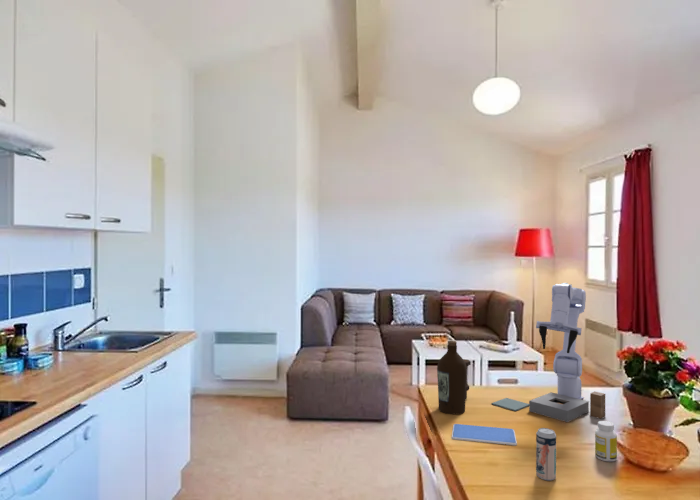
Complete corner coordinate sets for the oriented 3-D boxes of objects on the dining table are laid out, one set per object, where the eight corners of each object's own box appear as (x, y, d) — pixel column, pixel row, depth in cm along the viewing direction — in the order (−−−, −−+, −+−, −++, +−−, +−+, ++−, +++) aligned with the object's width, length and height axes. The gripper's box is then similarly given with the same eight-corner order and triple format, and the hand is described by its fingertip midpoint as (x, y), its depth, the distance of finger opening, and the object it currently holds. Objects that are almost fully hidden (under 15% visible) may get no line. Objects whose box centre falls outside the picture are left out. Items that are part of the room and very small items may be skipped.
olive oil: (455, 403, 181) (455, 337, 180) (472, 412, 171) (473, 343, 171) (431, 407, 176) (431, 339, 176) (447, 416, 167) (448, 345, 167)
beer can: (532, 473, 125) (532, 427, 125) (550, 472, 126) (550, 427, 125) (541, 482, 120) (541, 434, 120) (559, 481, 121) (560, 434, 121)
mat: (506, 399, 187) (506, 397, 187) (530, 405, 179) (530, 404, 179) (491, 404, 180) (491, 403, 180) (515, 411, 173) (515, 410, 173)
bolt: (469, 397, 189) (469, 359, 189) (471, 401, 184) (471, 362, 184) (454, 396, 190) (454, 358, 189) (455, 400, 184) (456, 361, 184)
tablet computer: (451, 441, 147) (451, 436, 147) (453, 426, 159) (453, 422, 159) (517, 448, 142) (517, 443, 142) (514, 432, 154) (514, 428, 154)
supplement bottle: (614, 455, 136) (615, 421, 136) (618, 463, 131) (618, 427, 131) (593, 452, 138) (593, 418, 138) (596, 460, 133) (596, 425, 133)
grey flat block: (551, 402, 183) (551, 392, 183) (588, 411, 172) (588, 401, 172) (529, 411, 173) (529, 400, 173) (567, 422, 162) (567, 410, 162)
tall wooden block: (594, 413, 170) (594, 391, 170) (605, 416, 168) (605, 393, 168) (590, 416, 168) (590, 393, 168) (600, 418, 165) (601, 395, 165)
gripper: (538, 306, 170) (534, 341, 164) (583, 312, 165) (580, 349, 158) (537, 314, 176) (533, 349, 170) (581, 321, 170) (578, 357, 164)
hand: (556, 349), depth 164 cm, fingers open, 7 cm apart
